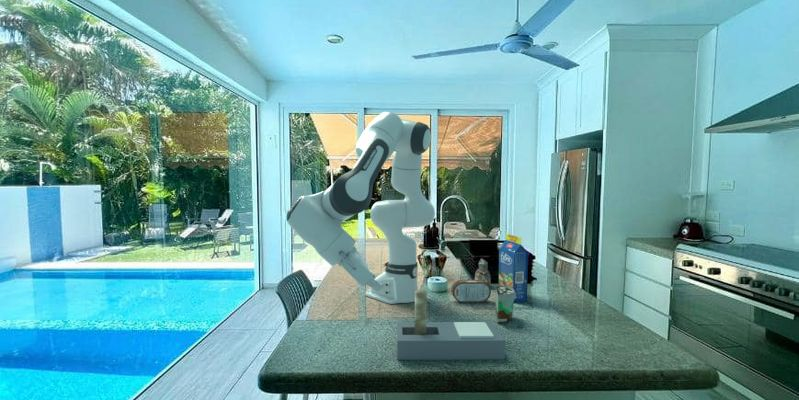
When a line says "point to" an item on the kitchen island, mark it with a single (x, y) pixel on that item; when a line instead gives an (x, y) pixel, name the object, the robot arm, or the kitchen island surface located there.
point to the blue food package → (514, 267)
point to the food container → (504, 303)
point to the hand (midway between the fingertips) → (376, 283)
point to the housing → (450, 341)
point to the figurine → (483, 272)
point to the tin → (471, 291)
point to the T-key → (420, 312)
